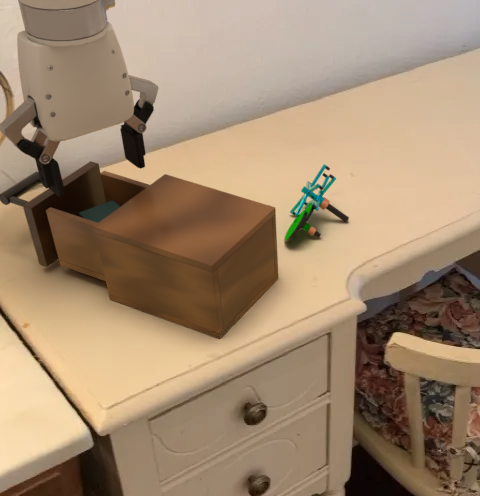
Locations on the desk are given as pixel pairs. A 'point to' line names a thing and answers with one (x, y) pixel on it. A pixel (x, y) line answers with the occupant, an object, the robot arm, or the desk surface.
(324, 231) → the desk surface
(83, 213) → the block
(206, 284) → the cabinet
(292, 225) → the stick construction toy
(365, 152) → the desk surface
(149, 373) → the desk surface
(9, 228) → the desk surface
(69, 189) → the drawer
